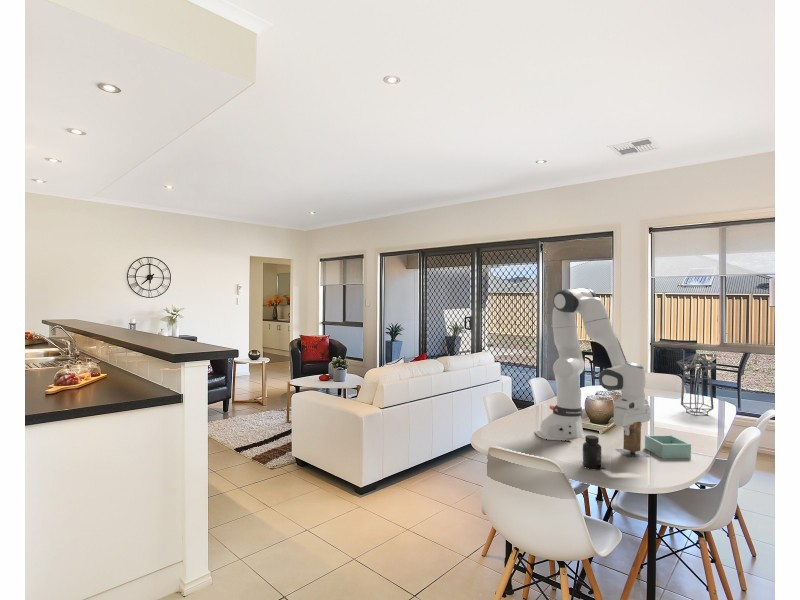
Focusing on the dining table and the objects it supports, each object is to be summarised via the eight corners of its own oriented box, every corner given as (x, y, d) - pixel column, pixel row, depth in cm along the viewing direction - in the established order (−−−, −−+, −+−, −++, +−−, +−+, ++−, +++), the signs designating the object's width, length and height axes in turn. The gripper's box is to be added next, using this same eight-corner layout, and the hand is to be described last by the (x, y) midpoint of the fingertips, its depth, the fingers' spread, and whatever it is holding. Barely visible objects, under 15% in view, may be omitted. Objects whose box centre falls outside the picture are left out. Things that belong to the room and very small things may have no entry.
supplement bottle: (596, 463, 179) (596, 434, 179) (604, 470, 172) (605, 439, 172) (579, 463, 179) (579, 434, 178) (587, 470, 172) (587, 439, 172)
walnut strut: (633, 452, 184) (634, 423, 184) (623, 448, 188) (624, 420, 188) (640, 450, 187) (641, 422, 186) (630, 447, 191) (630, 419, 191)
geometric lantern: (719, 417, 250) (719, 356, 250) (691, 418, 251) (691, 356, 250) (701, 410, 266) (701, 352, 265) (674, 410, 267) (674, 352, 266)
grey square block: (627, 461, 182) (628, 442, 182) (614, 452, 192) (615, 435, 192) (651, 460, 183) (651, 442, 183) (637, 452, 193) (637, 435, 193)
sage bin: (662, 461, 182) (662, 444, 182) (644, 451, 194) (645, 435, 194) (690, 461, 182) (690, 444, 182) (671, 451, 194) (671, 435, 194)
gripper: (640, 397, 195) (640, 428, 195) (610, 402, 185) (610, 435, 185) (654, 400, 190) (654, 432, 190) (625, 405, 180) (624, 439, 180)
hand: (632, 434), depth 187 cm, fingers closed on walnut strut, 5 cm apart
